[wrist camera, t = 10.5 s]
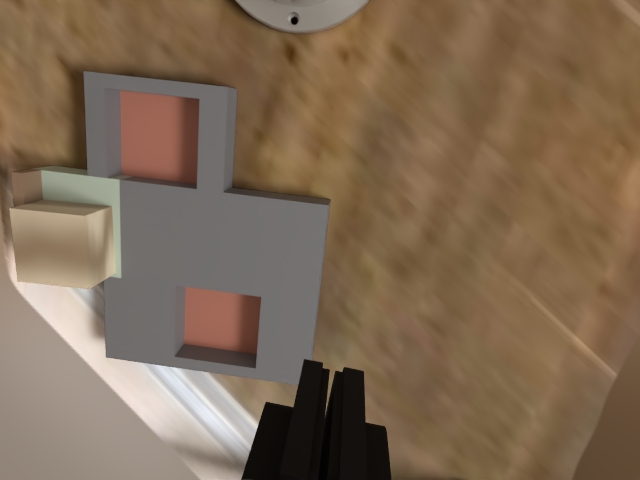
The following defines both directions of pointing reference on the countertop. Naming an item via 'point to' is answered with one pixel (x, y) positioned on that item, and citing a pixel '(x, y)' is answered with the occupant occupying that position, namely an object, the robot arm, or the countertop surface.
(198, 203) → the board
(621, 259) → the countertop surface
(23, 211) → the birch block
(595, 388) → the countertop surface
